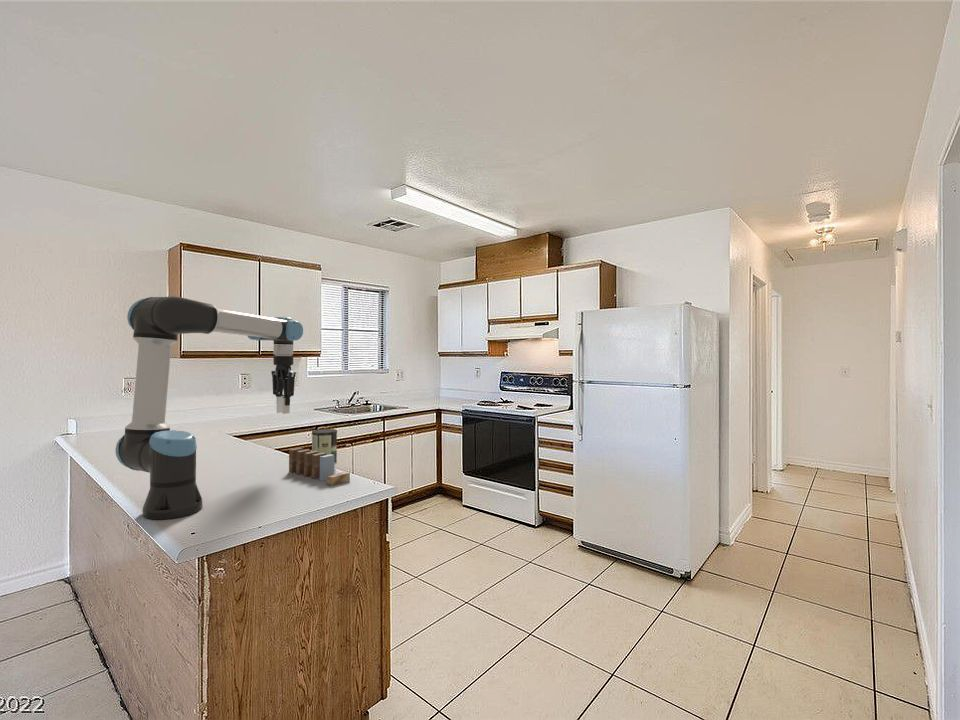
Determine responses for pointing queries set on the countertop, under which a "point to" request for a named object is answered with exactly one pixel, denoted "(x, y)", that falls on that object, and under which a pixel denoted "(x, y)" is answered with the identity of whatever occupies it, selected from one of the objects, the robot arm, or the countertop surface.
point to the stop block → (338, 478)
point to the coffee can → (325, 442)
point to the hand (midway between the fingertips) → (283, 412)
